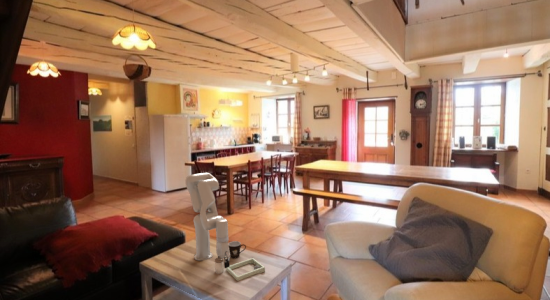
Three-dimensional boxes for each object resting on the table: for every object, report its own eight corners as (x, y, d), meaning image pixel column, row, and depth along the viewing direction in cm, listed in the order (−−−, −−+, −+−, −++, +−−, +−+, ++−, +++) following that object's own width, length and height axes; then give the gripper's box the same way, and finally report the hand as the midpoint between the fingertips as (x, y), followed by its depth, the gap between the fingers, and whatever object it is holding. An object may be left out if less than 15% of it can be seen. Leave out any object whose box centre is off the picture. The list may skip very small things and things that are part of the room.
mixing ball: (253, 270, 183) (252, 265, 182) (257, 269, 185) (257, 263, 184) (255, 273, 180) (255, 267, 179) (260, 271, 182) (260, 266, 181)
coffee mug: (226, 259, 198) (226, 245, 197) (231, 253, 206) (231, 240, 205) (242, 261, 195) (242, 247, 194) (246, 255, 203) (246, 242, 202)
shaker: (214, 272, 181) (213, 258, 180) (221, 269, 185) (221, 256, 184) (217, 275, 177) (216, 262, 176) (225, 273, 180) (224, 259, 179)
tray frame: (226, 271, 182) (226, 266, 182) (253, 261, 194) (253, 257, 193) (237, 281, 170) (237, 277, 170) (265, 271, 182) (264, 267, 181)
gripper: (211, 235, 184) (212, 261, 185) (222, 244, 170) (224, 271, 171) (222, 233, 188) (223, 257, 190) (233, 241, 174) (235, 267, 176)
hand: (223, 264), depth 180 cm, fingers open, 9 cm apart
